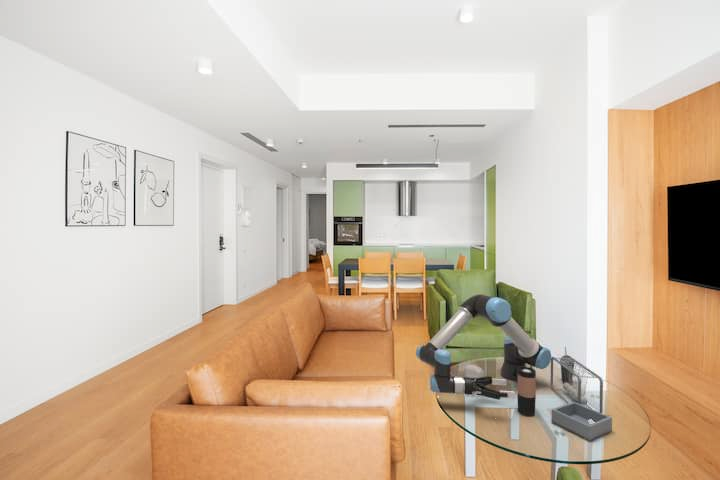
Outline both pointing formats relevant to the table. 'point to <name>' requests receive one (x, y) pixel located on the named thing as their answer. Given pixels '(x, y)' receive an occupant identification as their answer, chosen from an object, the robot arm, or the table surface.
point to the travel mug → (526, 391)
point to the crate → (581, 421)
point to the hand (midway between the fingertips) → (510, 388)
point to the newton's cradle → (568, 386)
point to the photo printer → (473, 371)
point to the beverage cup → (566, 369)
